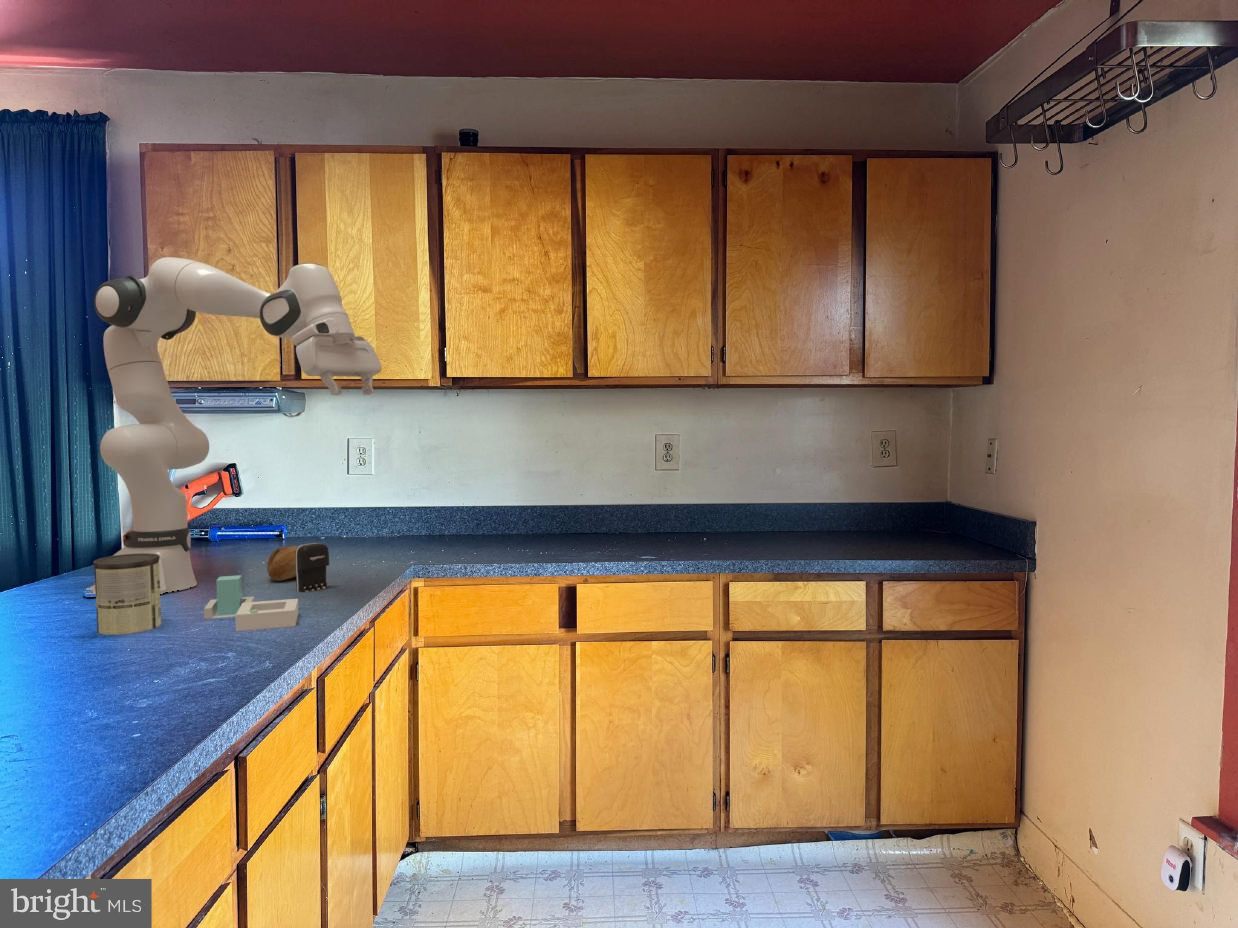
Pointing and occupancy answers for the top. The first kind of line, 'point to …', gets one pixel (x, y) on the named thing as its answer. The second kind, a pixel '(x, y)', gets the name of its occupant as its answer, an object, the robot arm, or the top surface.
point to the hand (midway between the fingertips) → (353, 394)
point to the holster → (211, 608)
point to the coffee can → (127, 593)
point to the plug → (229, 594)
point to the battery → (311, 566)
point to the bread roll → (282, 563)
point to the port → (267, 615)
